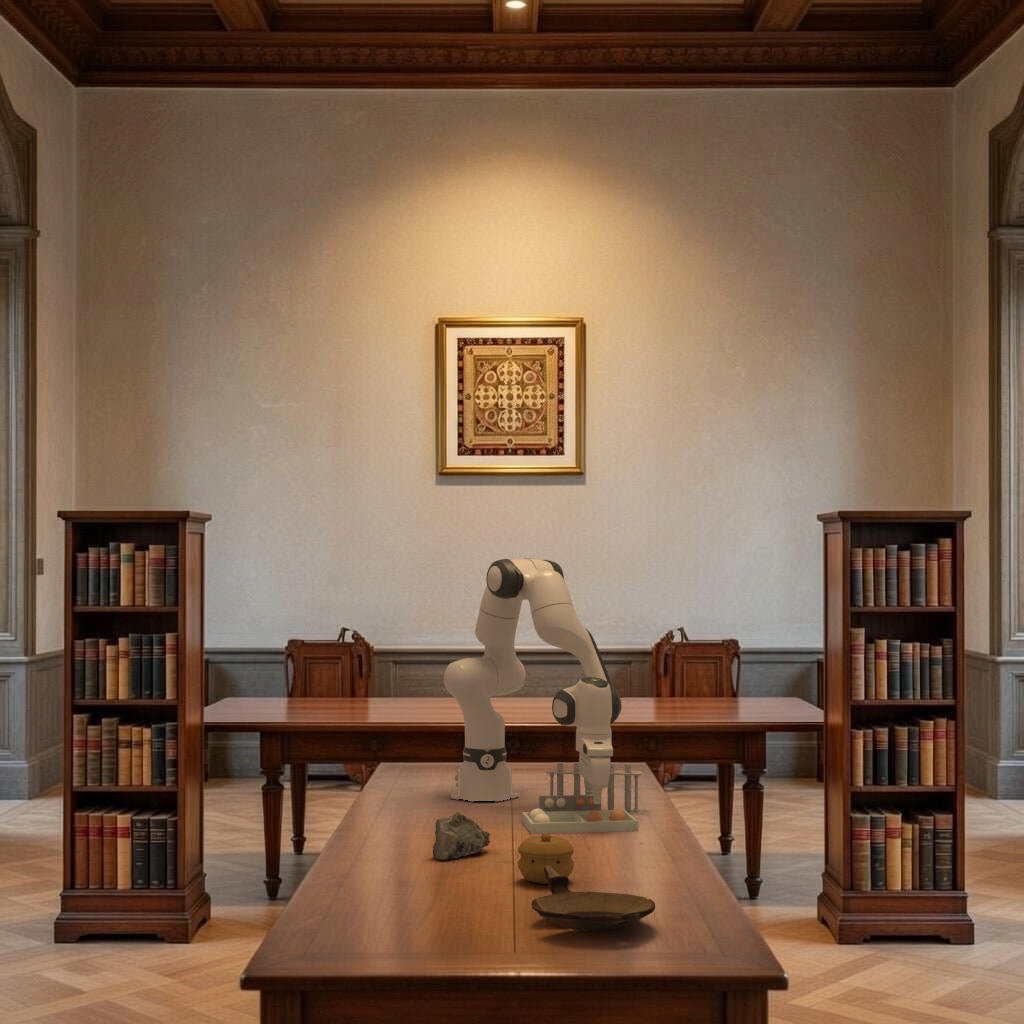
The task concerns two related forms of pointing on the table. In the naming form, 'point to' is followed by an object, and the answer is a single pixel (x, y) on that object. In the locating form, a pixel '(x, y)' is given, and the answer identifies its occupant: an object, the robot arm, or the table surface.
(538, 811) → the ivory ball
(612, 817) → the terracotta ball
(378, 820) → the table surface
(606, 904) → the frying pan
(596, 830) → the twin dish
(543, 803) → the card
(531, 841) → the pot
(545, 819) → the ivory ball
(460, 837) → the mineral rock
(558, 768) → the test tube rack
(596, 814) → the terracotta ball
